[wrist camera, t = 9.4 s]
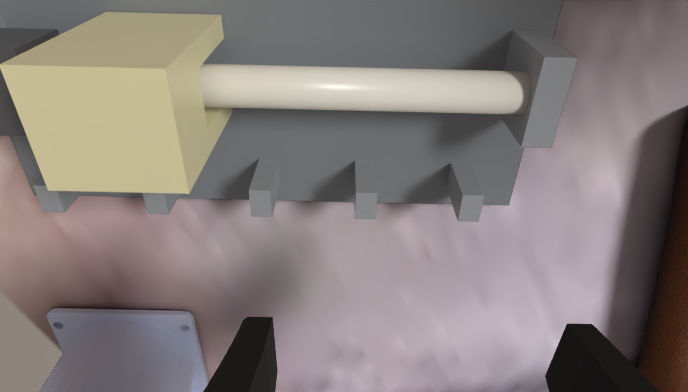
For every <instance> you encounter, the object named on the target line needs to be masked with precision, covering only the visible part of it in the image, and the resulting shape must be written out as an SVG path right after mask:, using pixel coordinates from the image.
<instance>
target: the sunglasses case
mask: <svg viewBox="0 0 688 392" xmlns="http://www.w3.org/2000/svg"><path fill="white" fill-rule="evenodd" d="M637 369H638V370H639V371H640V372H641V373H642V374H643V375H644V376H645V377H646V378H647V379H648V380H649V381H650V382H651V383H652V384H653V385H654V386H655V387H656V388H657V389H658V390H659V391H660V392H688V119H687V120H686V121H685V125H684V129H683V133H682V138H681V146H680V152H679V156H678V162H677V169H676V178H675V184H674V190H673V197H672V205H671V210H670V213H669V218H668V225H667V232H666V239H665V247H664V250H663V252H662V258H661V263H660V267H659V271H658V275H657V280H656V286H655V291H654V296H653V301H652V306H651V310H650V313H649V318H648V322H647V327H646V331H645V336H644V340H643V345H642V348H641V352H640V355H639V359H638V365H637Z"/></svg>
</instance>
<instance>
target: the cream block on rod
mask: <svg viewBox="0 0 688 392" xmlns="http://www.w3.org/2000/svg"><path fill="white" fill-rule="evenodd" d="M223 39H224V33H223V25H222V16H221V15H211V14H171V13H130V12H105V13H103V14H101V15H99V16H97V17H95V18H93V19H91V20H89V21H87V22H85V23H83V24H81V25H79V26H77V27H74V28H72V29H70V30H68V31H66V32H64V33H62V34H60V35H58V36H56V37H54V38H52V39H50V40H48V41H46V42H44V43H42V44H40V45H38V46H36V47H34V48H32V49H30V50H28V51H26V52H24V53H22V54H20V55H18V56H16V57H14V58H12V59H10V60H8V61H6V62H3V63H1V64H0V69H1V71H2V74H3V77H4V79H5V82H6V84H7V87H8V89H9V92H10V94H11V97H12V100H13V102H14V105H15V107H16V110H17V112H18V115H19V117H20V120H21V123H22V125H23V128H24V130H25V133H26V135H27V138H28V140H29V143H30V146H31V148H32V151H33V153H34V156H35V158H36V161H37V163H38V166H39V169H40V171H41V174H42V176H43V179H44V181H45V184H46V186H47V189H48V191H90V192H134V193H178V194H189V193H190V191H191V190H192V188H193V186H194V184H195V182H196V180H197V178H198V176H199V174H200V173H201V171H202V169H203V167H204V165H205V163H206V161H207V159H208V157H209V155H210V154H211V152H212V150H213V148H214V146H215V144H216V142H217V140H218V138H219V137H220V135H221V133H222V131H223V129H224V127H225V125H226V123H227V121H228V120H229V118H230V116H231V114H232V112H233V110H232V108H223V107H204V103H203V96H202V90H201V83H200V77H199V70H198V68H199V67H200V66H201V65H202V64H203V62H204V61H205V60H206V59H207V58H208V57H209V55H210V54H211V53H212V52H213V51H214V49H215V48H216V47H217V46H218V45H219V44H220V42H221V41H222V40H223Z"/></svg>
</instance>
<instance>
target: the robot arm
mask: <svg viewBox="0 0 688 392" xmlns="http://www.w3.org/2000/svg"><path fill="white" fill-rule="evenodd" d="M46 317H47V320H48V322H49V324H50V326H51V328H52V330H53V333H54V335H55V337H56V339H57V341H58V343H59V345H60V347H61V349H62V351H63V354H62V356H61V358H60V359H59V361H58V363H57V364H56V366H55V367H54V369H53V371H52V372H51V374H50V376H49V377H48V379H47V380H46V382H45V384H44V385H43V387H42V389H41V390H40V392H275V388H276V379H277V361H276V350H275V339H274V328H273V317H247V318H245V319H244V320H243V322H242V324H241V326H240V328H239V330H238V332H237V334H236V336H235V338H234V340H233V342H232V344H231V346H230V348H229V349H228V351H227V353H226V355H225V357H224V358H223V360H222V362H221V364H220V365H219V367H218V369H217V370H216V372H215V373H214V375H213V377H212V378H211V380H210V381H209V382H208V378H207V373H206V369H205V364H204V360H203V356H202V351H201V347H200V342H199V338H198V333H197V329H196V325H195V320H194V317H193V315H192V314H191V313H190V312H187V311H166V310H120V309H73V308H53V309H51V310H50V311H49V312H48V314H47V316H46ZM185 325H186V326H185ZM545 377H546V381H547V385H548V389H549V392H660V391H659V390H658V389H657V388H656V387H655V386H654V385H653V384H652V383H651V382H650V381H649V380H648V379H647V378H646V377H645V376H644V375H643V374H642V373H641V372H640V371H639V370H638V369H637V368H636V367H635V366H634V365H633V364H632V363H631V362H630V361H629V360H628V359H627V358H626V357H625V356H624V355H623V354H622V353H621V352H620V351H619V350H618V349H617V348H616V347H615V346H614V345H613V344H612V343H611V342H610V341H609V340H608V339H607V338H606V337H605V336H604V335H603V334H602V333H601V332H600V331H599V330H598V329H597V328H596V327H594V326H593V325H592V324H567V325H566V328H565V330H564V332H563V335H562V337H561V340H560V342H559V344H558V347H557V349H556V352H555V354H554V356H553V359H552V361H551V363H550V366H549V368H548V371H547V373H546V375H545Z"/></svg>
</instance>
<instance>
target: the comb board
mask: <svg viewBox="0 0 688 392" xmlns="http://www.w3.org/2000/svg"><path fill="white" fill-rule="evenodd" d="M562 2H563V0H0V64H1V63H3V62H6V61H8V60H10V59H12V58H14V57H16V56H18V55H20V54H22V53H24V52H26V51H28V50H30V49H32V48H34V47H36V46H38V45H40V44H42V43H44V42H46V41H48V40H50V39H52V38H54V37H56V36H58V35H60V34H62V33H64V32H66V31H68V30H70V29H72V28H74V27H77V26H79V25H81V24H83V23H85V22H87V21H89V20H91V19H93V18H95V17H97V16H99V15H101V14H103V13H105V12H130V13H171V14H211V15H221V16H222V25H223V33H224V39H223V40H222V41H221V42H220V44H219V45H218V46H217V47H216V48H215V49H214V51H213V52H212V53H211V54H210V55H209V57H208V58H207V59H206V60H205V61H204V62H203V64H202V65H201V66H200V67H199V68H198V70H199V77H200V83H201V90H202V96H203V103H204V107H223V108H232V110H233V112H232V114H231V116H230V118H229V120H228V121H227V123H226V125H225V127H224V129H223V131H222V133H221V135H220V137H219V138H218V140H217V142H216V144H215V146H214V148H213V150H212V152H211V154H210V155H209V157H208V159H207V161H206V163H205V165H204V167H203V169H202V171H201V173H200V174H199V176H198V178H197V180H196V182H195V184H194V186H193V188H192V190H191V191H190V193H189V194H178V193H134V192H90V191H48V189H47V186H46V184H45V181H44V179H43V176H42V174H41V171H40V169H39V166H38V163H37V161H36V158H35V156H34V153H33V151H32V148H31V146H30V143H29V140H28V138H27V135H26V133H25V130H24V128H23V125H22V123H21V120H20V117H19V115H18V112H17V110H16V107H15V105H14V102H13V100H12V97H11V94H10V92H9V89H8V87H7V84H6V82H5V79H4V77H3V74H2V71H1V69H0V135H10V137H11V140H12V142H13V144H14V147H15V149H16V152H17V154H18V157H19V159H20V161H21V164H22V166H23V169H24V171H25V174H26V176H27V178H28V181H29V183H30V186H31V188H32V190H33V193H34V195H37V196H38V198H39V201H40V203H41V206H42V208H43V211H44V212H65V211H66V210H67V209H68V208H69V207H70V206H71V205H72V204H73V202H74V201H75V200H76V199H77V198H78V197H79V196H114V197H144V201H145V205H146V209H147V213H148V214H163V215H169V213H170V211H171V209H172V208H173V206H174V204H175V202H176V200H177V199H178V198H202V199H246V200H250V208H251V216H252V217H272V215H273V211H274V207H275V203H276V200H290V201H335V202H354V203H355V219H376V205H377V202H379V203H423V204H452V205H453V208H454V211H455V214H456V217H457V220H458V221H475V222H479V217H480V213H481V208H482V205H509V203H510V199H511V195H512V192H513V188H514V184H515V180H516V176H517V173H518V169H519V165H520V161H521V157H522V154H523V150H524V147H529V148H551V147H552V144H553V140H554V137H555V134H556V130H557V127H558V124H559V120H560V117H561V114H562V110H563V107H564V104H565V100H566V97H567V94H568V90H569V87H570V84H571V80H572V77H573V74H574V70H575V67H576V64H577V60H578V57H576V56H575V55H574V54H572V53H571V52H569V51H568V50H567V49H565V48H564V47H562V46H561V45H560V44H558V43H557V42H556V41H554V40H553V36H554V32H555V29H556V25H557V21H558V17H559V13H560V10H561V6H562Z"/></svg>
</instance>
